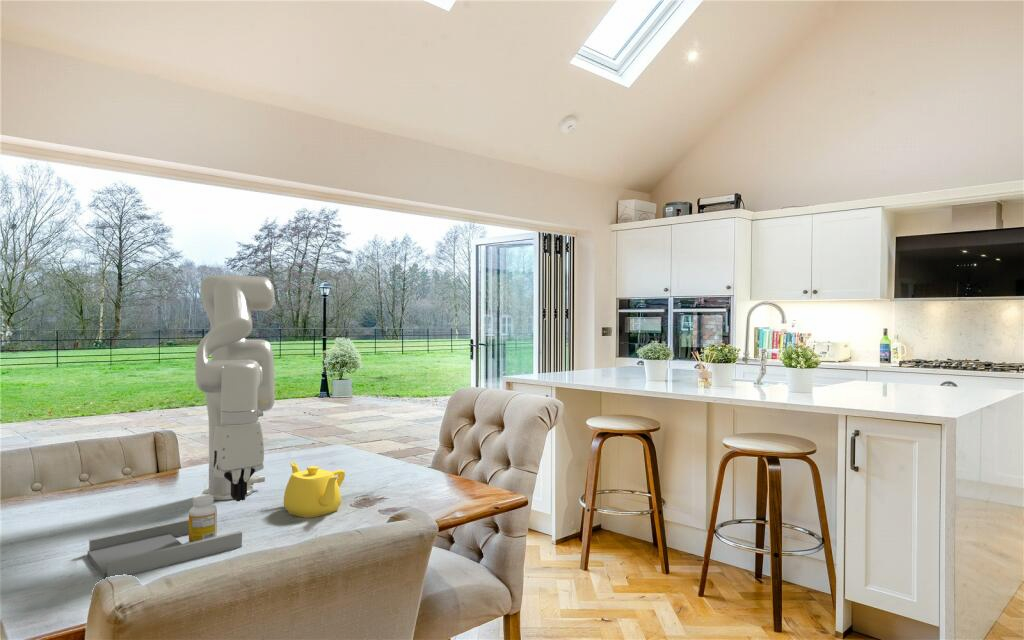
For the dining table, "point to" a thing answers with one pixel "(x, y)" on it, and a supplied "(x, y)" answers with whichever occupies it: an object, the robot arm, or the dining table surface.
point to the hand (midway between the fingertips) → (238, 499)
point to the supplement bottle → (202, 518)
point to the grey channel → (153, 548)
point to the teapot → (313, 491)
